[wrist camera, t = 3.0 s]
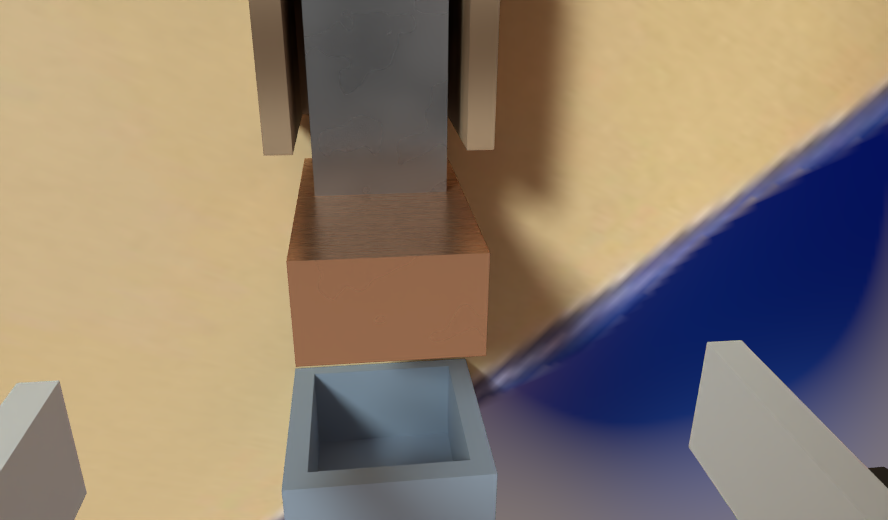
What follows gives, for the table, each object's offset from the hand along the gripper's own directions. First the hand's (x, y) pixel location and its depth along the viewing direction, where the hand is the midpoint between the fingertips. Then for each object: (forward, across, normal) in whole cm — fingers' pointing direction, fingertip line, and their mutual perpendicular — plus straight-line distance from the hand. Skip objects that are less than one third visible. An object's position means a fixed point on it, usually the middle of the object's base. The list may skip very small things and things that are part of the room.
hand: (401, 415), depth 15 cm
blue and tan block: (+13, 0, +3) cm, 13 cm away
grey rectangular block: (+14, 0, -10) cm, 17 cm away
